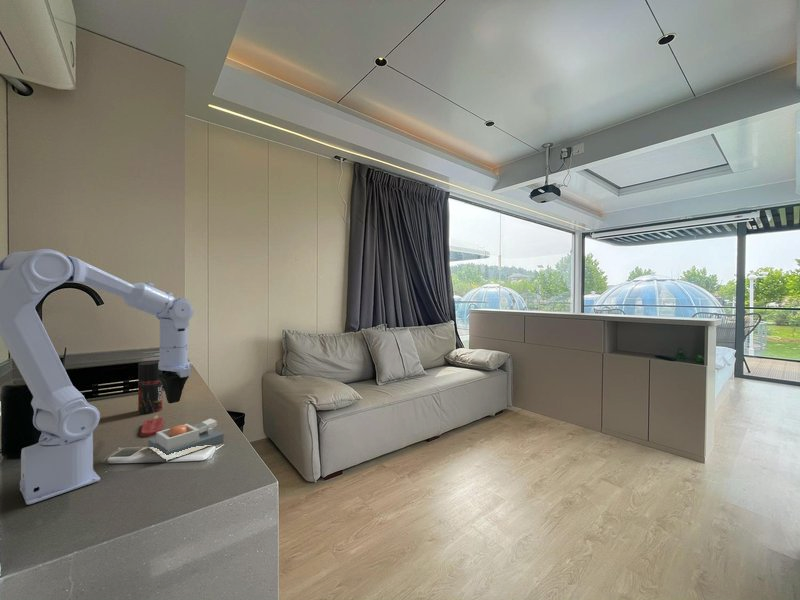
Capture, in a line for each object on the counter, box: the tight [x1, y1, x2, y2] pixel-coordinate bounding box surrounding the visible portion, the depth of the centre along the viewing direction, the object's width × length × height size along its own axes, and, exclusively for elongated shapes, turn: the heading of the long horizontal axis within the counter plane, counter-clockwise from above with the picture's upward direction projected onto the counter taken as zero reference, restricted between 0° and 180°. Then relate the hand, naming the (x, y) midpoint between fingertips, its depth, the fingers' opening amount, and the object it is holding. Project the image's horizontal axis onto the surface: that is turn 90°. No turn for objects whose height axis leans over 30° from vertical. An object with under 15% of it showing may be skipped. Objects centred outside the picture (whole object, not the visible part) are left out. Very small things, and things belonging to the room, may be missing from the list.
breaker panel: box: [147, 423, 224, 455], centre depth 79 cm, size 12×11×4 cm
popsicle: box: [140, 414, 165, 438], centre depth 90 cm, size 4×2×15 cm
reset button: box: [169, 424, 186, 437], centre depth 76 cm, size 3×3×3 cm
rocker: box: [193, 418, 218, 433], centre depth 82 cm, size 4×4×1 cm
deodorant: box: [137, 360, 163, 415], centre depth 102 cm, size 6×6×15 cm
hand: (173, 402), depth 81 cm, fingers closed
